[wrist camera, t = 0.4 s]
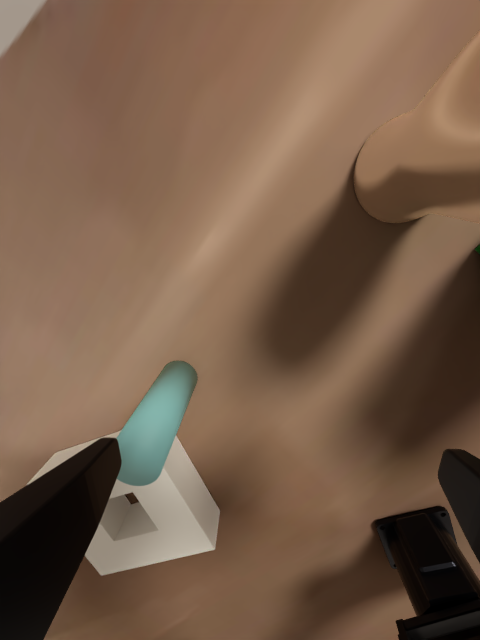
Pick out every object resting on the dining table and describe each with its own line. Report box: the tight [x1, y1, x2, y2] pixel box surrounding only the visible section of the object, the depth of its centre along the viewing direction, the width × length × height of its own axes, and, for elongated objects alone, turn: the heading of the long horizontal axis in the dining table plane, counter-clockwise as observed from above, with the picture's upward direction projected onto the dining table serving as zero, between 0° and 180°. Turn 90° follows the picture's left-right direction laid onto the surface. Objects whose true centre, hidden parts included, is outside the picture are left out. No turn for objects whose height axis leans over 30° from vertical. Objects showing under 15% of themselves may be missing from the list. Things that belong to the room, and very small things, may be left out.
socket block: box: [27, 431, 220, 576], centre depth 25 cm, size 12×12×4 cm
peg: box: [116, 361, 197, 486], centre depth 19 cm, size 3×3×9 cm
